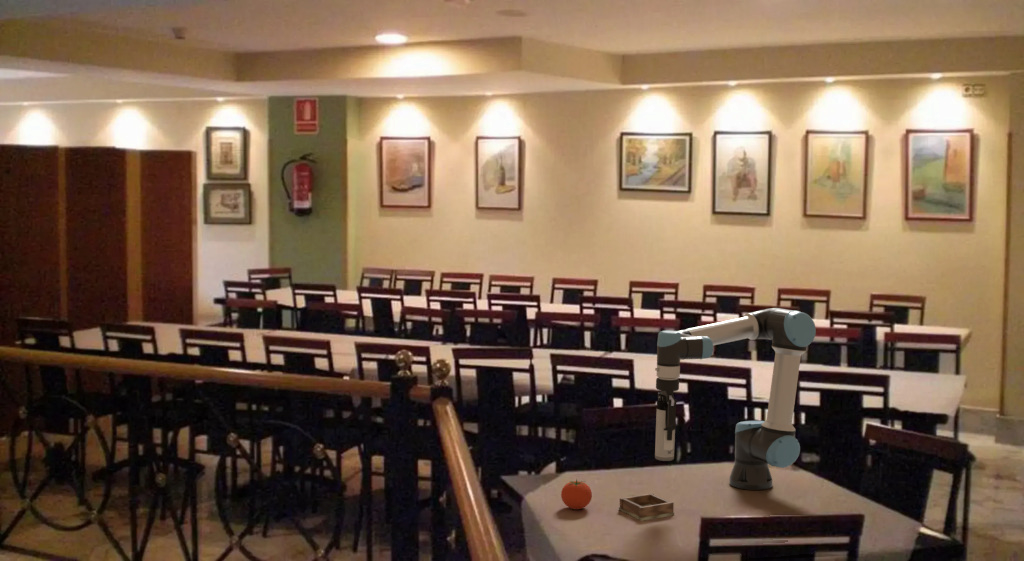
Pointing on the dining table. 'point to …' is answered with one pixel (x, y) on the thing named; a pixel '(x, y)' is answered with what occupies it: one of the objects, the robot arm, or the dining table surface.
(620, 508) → the walnut caddy
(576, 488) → the tomato
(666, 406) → the travel mug
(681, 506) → the dining table surface
